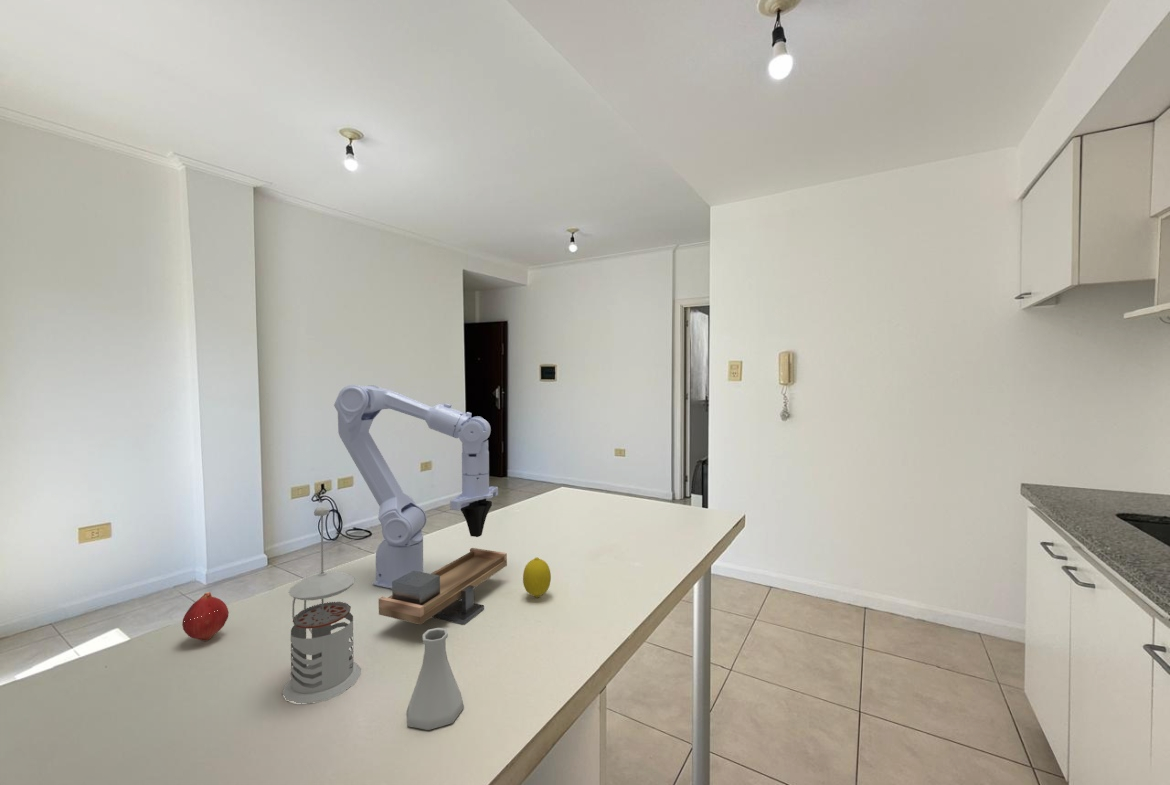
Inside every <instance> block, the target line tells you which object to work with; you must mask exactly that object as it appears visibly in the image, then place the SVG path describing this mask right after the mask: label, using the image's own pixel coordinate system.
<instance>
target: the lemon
mask: <svg viewBox="0 0 1170 785" xmlns="http://www.w3.org/2000/svg"><path fill="white" fill-rule="evenodd" d="M551 574H552V573H551V569H550V566H549V564H548V563H547V562H546V561H545V560H543V559H542V558H539V557H535V558H534V559H531V560H530V561H528V562H527V564H526V565H525V567H524V570H523V574H522V584H523V587H524V589H525V591H526V592H527V593H528V594H529V595H530V596H532V597H534V598H536V599H539V598H540V597H541V596H543V595H544V594H545V593H546V592H548V590H549V588H550V587H551V586H550V585H551V579H552V575H551Z"/></svg>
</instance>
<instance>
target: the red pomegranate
mask: <svg viewBox="0 0 1170 785" xmlns="http://www.w3.org/2000/svg"><path fill="white" fill-rule="evenodd" d="M217 610H218V611H217ZM214 611H215V612H214ZM185 612H186V613H185V614H184V616H183V618H182V624H181V625H182V630H183V631H184V633H185V634H186V635H187V636H188V637H191V638H192V639H196V640H200V641H204V642H206V641H210V640H211V639H212V638H213V637H214V636H215V635H216V634H217V633H219V631H221V629H223V627H224V626H225V624H226V622H227V620H228V618H229V613H230V612H229V608H228V606H227V604H226V603H225V601H223V600H221V599H220V598H218V597H215V596H212V593H211V591H207V592H205V593H204V594H203V595H201V597H200V598H198V599H197V600H195V602H193V603H192V605H190V607H189V608H188V610H187V611H185ZM209 613H210V614H209ZM201 616H202V617H201ZM197 617H198V618H197ZM194 618H195V619H194ZM190 619H191V620H190ZM184 621H185V622H184Z"/></svg>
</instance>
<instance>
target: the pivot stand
mask: <svg viewBox="0 0 1170 785" xmlns="http://www.w3.org/2000/svg"><path fill="white" fill-rule="evenodd" d="M474 590H475V588H474V586H471V585H469V586H467V587H466V588H464V589H463V590H461V600H460V599H457V600H456V601H454V602H453V603H451V604H450V605H448V606H447V607H445V608H444V609H443V610H441V611H440V612H438V613H437V614H435V615H434V616H432V617H431V618H432V619H433V618H434V619H437V620H442V621H447V622H450V623H454V624H460V625H462V626H463V625H464V626H465V625H466V624H467V623H469V622H470V621H471V620H473V618H475V617H476V616H477V615H479V614H480V613H481V612H483V611H485V605H484V604H480V603H475V595H474V594H475V592H474Z"/></svg>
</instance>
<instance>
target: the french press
mask: <svg viewBox="0 0 1170 785" xmlns="http://www.w3.org/2000/svg"><path fill="white" fill-rule="evenodd" d="M329 514H330V509H329V507H328V506H326V505H320V506H318V507H316V508H315V509H314V512H313V515H314V516H316V517H320V551H321V553H320V557H321V558H320V559H321V560H320V561H321V562H320V565H321V566H320V568H321V570H320V571H319V572H316V573H314V574H311V575H308V576H307V575H306V577H304V578H302V579H300V581H298V582H296V583H295V584H294V585H293V586H291V587H290V588H289V590H288V594H289V595H290V596H291V597H292V598H293V600H292V616H291V617H292V624H293V626H292V628H291V629H290V652H291V653H290V679H289V681H287V683H286V684H285V685H284V687H283V689H284V690H282V692H283V695H284V696H285V698H286V700H289V701H294V702H296V703H301V704H300V705H303V704H302V703H313V702H317V703H320V701H321V702H324V701H328V700H330V699H333V698H335V697H336V696H338V695H341V694H343V693H344V692H347V690H348V688H349V687H350V686H351V687H352V685H353V684H354V685H355V684H356V683H357V682H358V680H359V679H360V678H361V676H362V674H361V672H362V668H361V666H359V664H358V663H356V662H355V661H354V639H353V637H354V615H353V614H352V613H351V608H352V606H350V605H349V603H346V602H344V601H327V602H324V600H325V599H327V598H331V597H334V596H339V595H340V594H342V593H343V592H346V591H348V590H349V589H350V588H351V587H352V586H353V585H354V583H355V578H354V576H352V575H351V574H349V573H346V572H344V571H343V572H342V571H338V570H335V571H334V570H330V571H324V516H327V515H329ZM296 600H300V601H303V609H301V611H299V612H298V613H297V614H295V603H296ZM316 600H321V603H319V604H318V603H317V604H316V605H315V604H314V605H311V606H309V607H307V601H316ZM343 619H346V620H348V621H349V622H350V623H348V622H346V621H342V622H339V621H341V620H343ZM337 628H341V629H340V630H337V631H335V632H333V633H332V631H334V630H335V629H337ZM307 630H309V632H310V634H311V638H307ZM308 655H309V656H311V659H308V658H307V656H308ZM360 675H361V676H360ZM358 678H359V679H358ZM355 682H356V683H355ZM354 685H353V686H354ZM351 687H350V688H351ZM350 688H349V689H350ZM346 689H347V690H346ZM332 697H333V698H332ZM323 700H324V701H323ZM313 704H314V703H313Z"/></svg>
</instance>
